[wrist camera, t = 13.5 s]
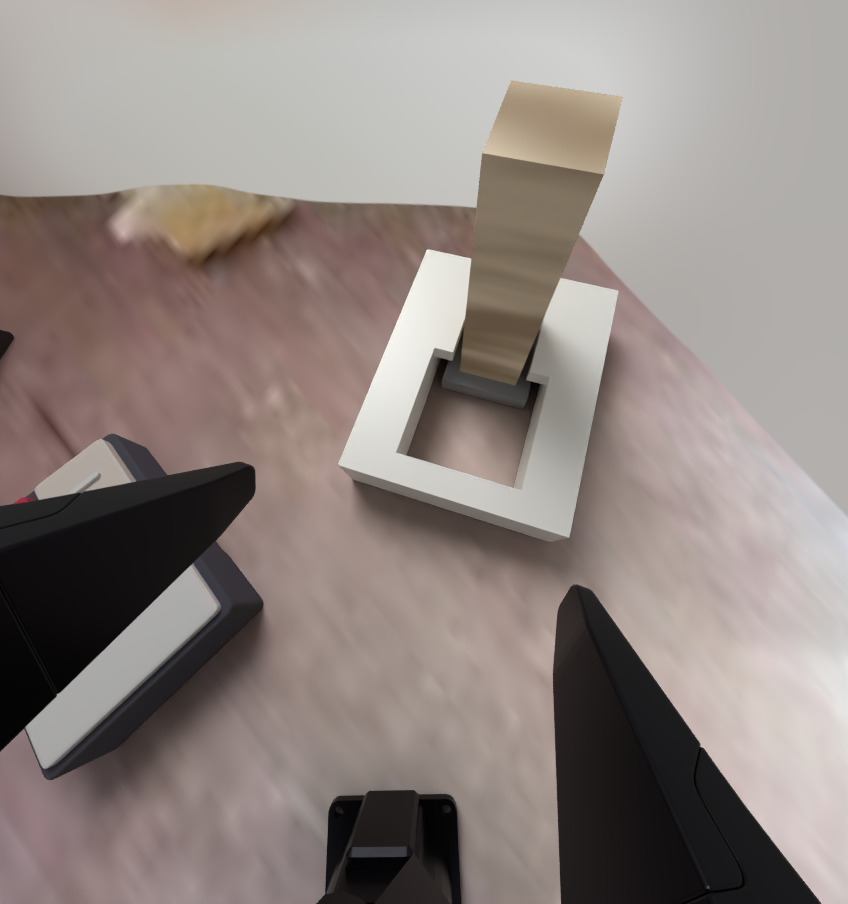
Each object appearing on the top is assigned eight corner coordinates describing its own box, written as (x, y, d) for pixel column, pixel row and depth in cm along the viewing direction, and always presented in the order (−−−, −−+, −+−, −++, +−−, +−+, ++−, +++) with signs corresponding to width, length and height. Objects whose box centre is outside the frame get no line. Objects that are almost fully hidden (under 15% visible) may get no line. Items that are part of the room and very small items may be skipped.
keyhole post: (522, 409, 25) (631, 202, 11) (441, 387, 26) (444, 167, 12) (540, 340, 27) (655, 83, 13) (464, 322, 28) (491, 60, 13)
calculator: (101, 425, 22) (226, 609, 18) (154, 449, 26) (268, 604, 22) (-68, 551, 20) (26, 796, 16) (18, 556, 24) (113, 753, 20)
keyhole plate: (549, 542, 22) (569, 537, 19) (351, 479, 24) (338, 465, 21) (596, 324, 27) (618, 290, 24) (428, 285, 29) (427, 249, 25)
